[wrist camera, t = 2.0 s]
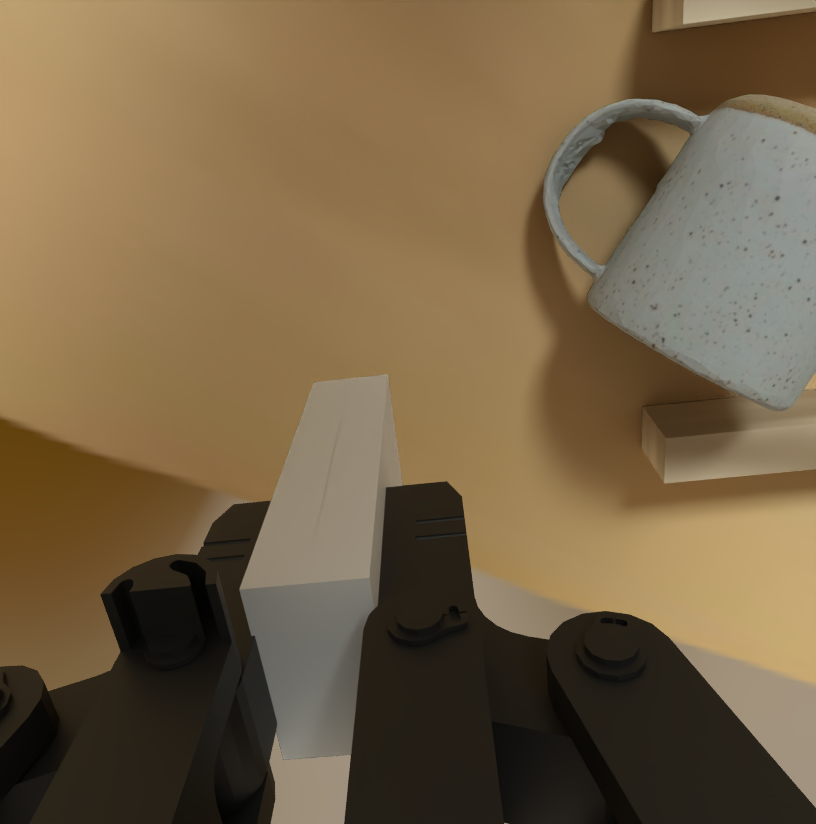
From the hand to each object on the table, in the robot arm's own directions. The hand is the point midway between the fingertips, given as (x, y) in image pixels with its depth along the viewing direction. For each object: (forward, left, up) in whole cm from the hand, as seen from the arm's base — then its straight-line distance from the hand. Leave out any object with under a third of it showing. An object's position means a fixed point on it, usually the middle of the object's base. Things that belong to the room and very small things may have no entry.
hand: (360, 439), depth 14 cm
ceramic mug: (-1, +11, -15) cm, 18 cm away
